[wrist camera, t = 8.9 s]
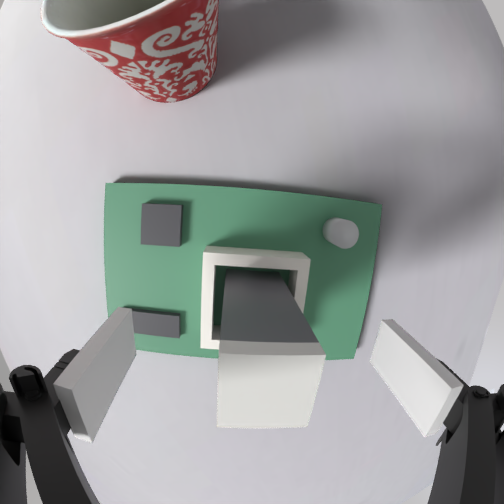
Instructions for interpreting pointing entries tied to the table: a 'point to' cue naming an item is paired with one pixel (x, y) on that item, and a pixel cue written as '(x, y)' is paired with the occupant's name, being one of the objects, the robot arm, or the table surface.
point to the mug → (143, 40)
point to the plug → (265, 355)
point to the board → (234, 259)
